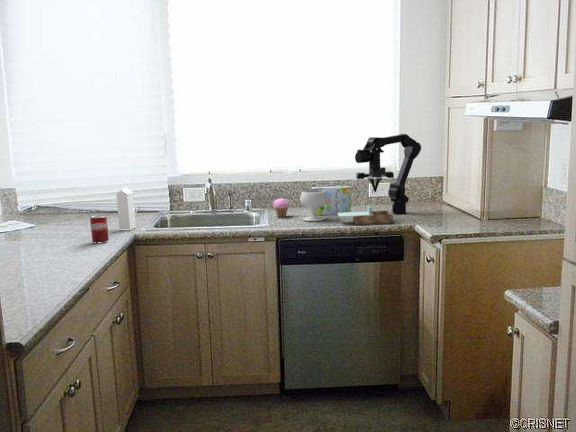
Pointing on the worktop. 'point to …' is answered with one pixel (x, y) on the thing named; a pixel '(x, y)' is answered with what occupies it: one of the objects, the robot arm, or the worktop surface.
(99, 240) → the soda can
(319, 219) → the chalice
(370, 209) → the lid
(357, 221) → the walnut box
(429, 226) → the worktop surface
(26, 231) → the worktop surface
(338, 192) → the snack box
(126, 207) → the milk
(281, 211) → the cupcake
